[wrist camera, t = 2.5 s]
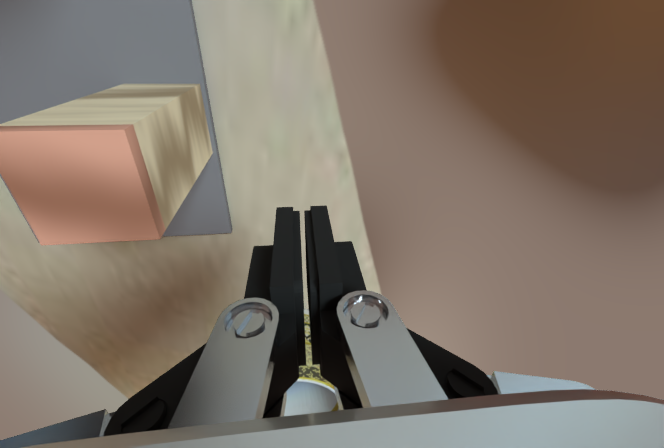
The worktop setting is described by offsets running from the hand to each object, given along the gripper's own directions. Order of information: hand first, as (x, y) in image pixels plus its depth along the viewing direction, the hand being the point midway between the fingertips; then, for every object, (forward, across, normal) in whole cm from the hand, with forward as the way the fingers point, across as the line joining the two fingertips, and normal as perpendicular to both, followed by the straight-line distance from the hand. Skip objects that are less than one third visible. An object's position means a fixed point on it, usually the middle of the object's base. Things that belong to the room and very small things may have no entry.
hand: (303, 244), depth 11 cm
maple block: (+16, +9, -1) cm, 18 cm away
